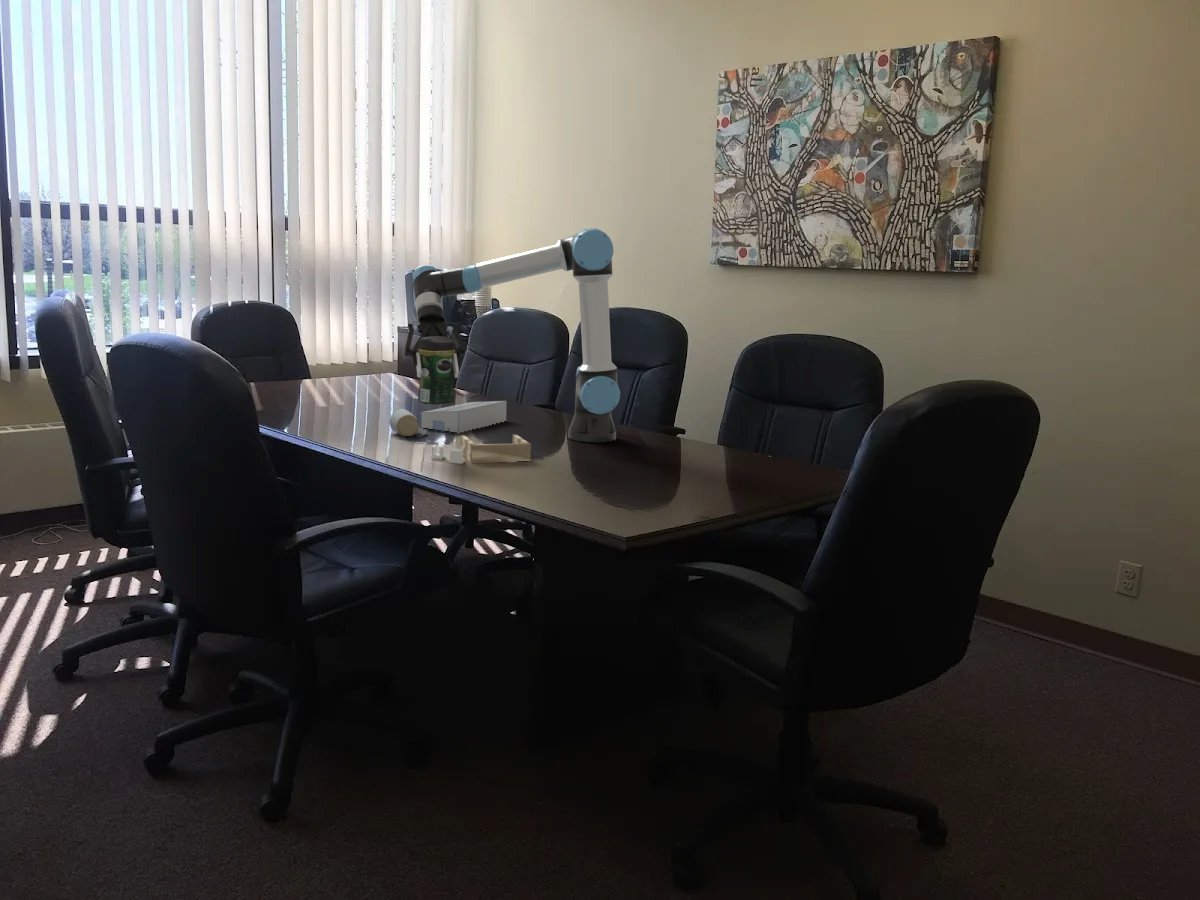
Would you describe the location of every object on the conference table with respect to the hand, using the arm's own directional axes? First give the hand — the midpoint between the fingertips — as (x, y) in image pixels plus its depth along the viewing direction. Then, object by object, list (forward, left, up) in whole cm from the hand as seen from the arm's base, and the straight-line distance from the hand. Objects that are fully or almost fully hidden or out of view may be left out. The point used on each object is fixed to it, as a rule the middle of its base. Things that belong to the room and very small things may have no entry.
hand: (438, 374), depth 263 cm
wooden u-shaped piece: (-16, +1, -23) cm, 28 cm away
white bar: (-19, -52, -24) cm, 60 cm away
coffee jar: (0, -3, -9) cm, 9 cm away
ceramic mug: (+2, -35, -23) cm, 42 cm away
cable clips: (-2, +4, -23) cm, 23 cm away
